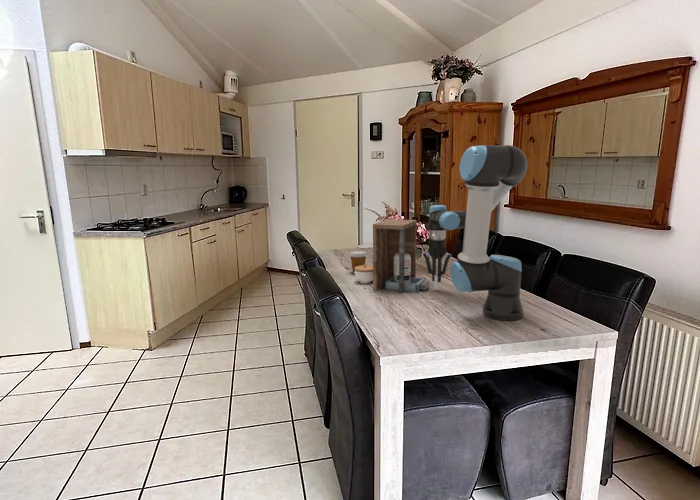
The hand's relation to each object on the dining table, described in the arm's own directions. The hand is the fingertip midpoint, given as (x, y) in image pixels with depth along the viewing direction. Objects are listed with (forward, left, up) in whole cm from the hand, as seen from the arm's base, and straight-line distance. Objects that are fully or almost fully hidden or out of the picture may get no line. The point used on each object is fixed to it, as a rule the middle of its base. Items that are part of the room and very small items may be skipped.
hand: (436, 288), depth 193 cm
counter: (+1, +21, -2) cm, 21 cm away
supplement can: (0, +17, 0) cm, 17 cm away
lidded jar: (+3, +38, -2) cm, 38 cm away
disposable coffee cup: (+19, +49, -2) cm, 52 cm away
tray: (+1, +14, -1) cm, 14 cm away
